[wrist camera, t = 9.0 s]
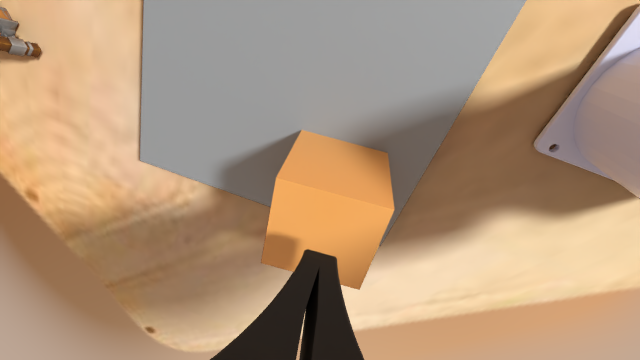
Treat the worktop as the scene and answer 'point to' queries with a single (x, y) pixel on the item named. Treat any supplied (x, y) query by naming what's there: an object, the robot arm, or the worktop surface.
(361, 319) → the worktop surface
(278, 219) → the orange block
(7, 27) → the wooden post with brackets
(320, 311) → the robot arm
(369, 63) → the post board
